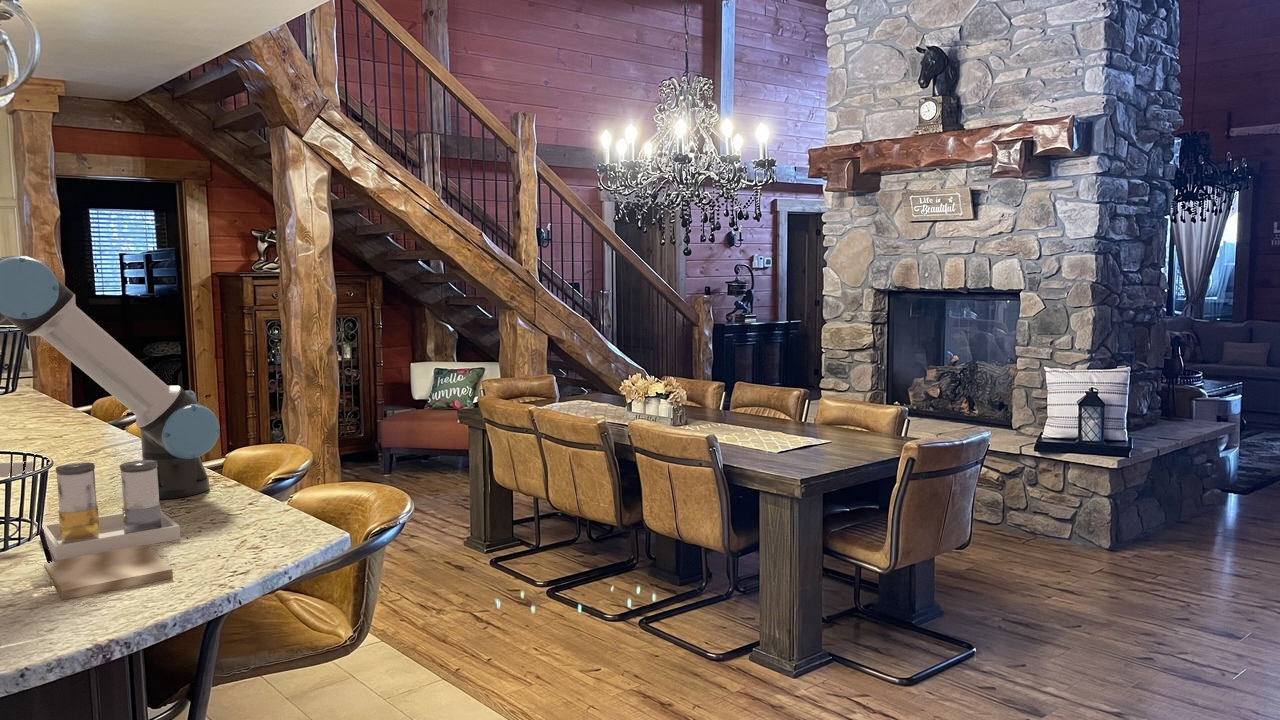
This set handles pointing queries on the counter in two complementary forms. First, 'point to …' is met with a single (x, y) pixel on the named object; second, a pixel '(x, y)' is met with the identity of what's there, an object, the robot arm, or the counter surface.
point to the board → (107, 571)
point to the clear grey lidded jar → (140, 496)
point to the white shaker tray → (110, 537)
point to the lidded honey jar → (77, 502)
